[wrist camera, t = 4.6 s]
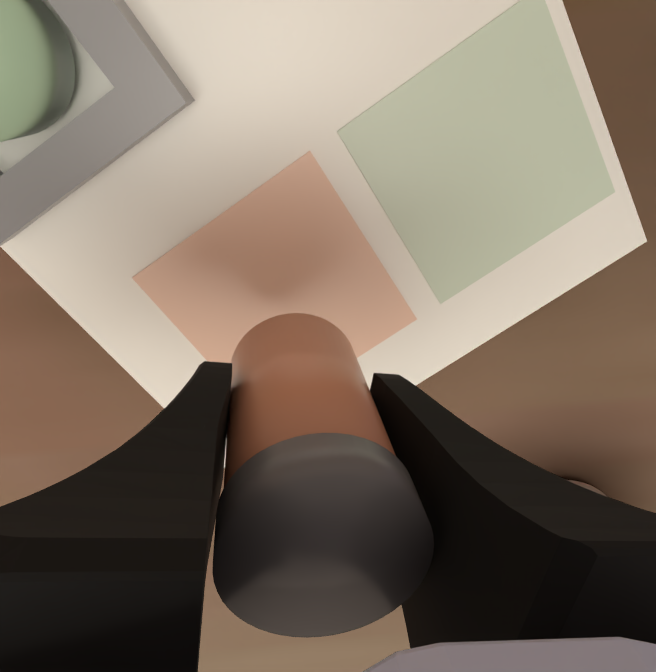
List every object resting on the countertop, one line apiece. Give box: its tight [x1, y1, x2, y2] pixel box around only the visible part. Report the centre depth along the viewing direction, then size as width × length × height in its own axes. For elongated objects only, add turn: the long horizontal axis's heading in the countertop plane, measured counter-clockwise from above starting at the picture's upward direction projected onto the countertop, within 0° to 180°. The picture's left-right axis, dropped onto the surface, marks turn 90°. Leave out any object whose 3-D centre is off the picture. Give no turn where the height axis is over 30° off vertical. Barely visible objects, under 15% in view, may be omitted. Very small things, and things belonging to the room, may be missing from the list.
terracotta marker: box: [213, 313, 434, 637], centre depth 11 cm, size 3×3×6 cm
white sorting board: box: [0, 0, 647, 468], centre depth 15 cm, size 20×18×3 cm
